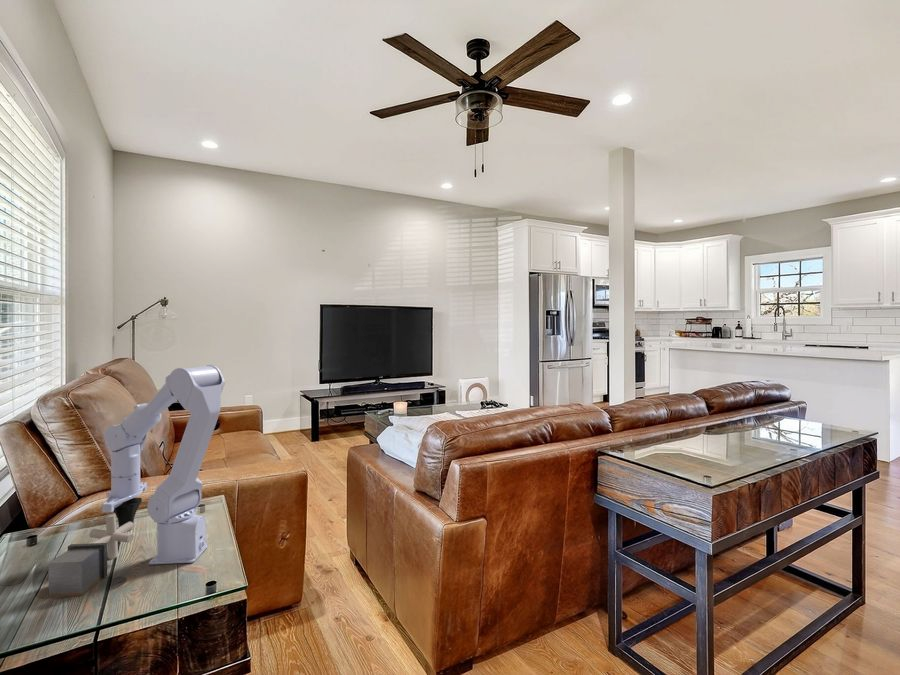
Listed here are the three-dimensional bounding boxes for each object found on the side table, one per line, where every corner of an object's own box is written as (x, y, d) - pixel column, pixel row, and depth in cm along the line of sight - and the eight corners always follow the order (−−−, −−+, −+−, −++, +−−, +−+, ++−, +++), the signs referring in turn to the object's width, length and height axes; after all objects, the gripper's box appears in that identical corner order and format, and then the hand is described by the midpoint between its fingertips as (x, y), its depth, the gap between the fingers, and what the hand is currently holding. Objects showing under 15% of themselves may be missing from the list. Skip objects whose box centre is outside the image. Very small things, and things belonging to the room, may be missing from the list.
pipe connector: (112, 572, 102) (109, 528, 101) (73, 566, 103) (70, 523, 102) (149, 547, 111) (147, 507, 110) (113, 542, 113) (111, 502, 112)
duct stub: (71, 578, 98) (71, 544, 98) (107, 576, 99) (106, 542, 99) (46, 597, 91) (45, 560, 91) (84, 595, 92) (84, 558, 92)
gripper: (126, 464, 119) (126, 518, 119) (87, 484, 104) (87, 545, 105) (155, 464, 120) (155, 517, 120) (121, 484, 105) (121, 544, 105)
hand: (125, 530), depth 112 cm, fingers closed, pressing on pipe connector
